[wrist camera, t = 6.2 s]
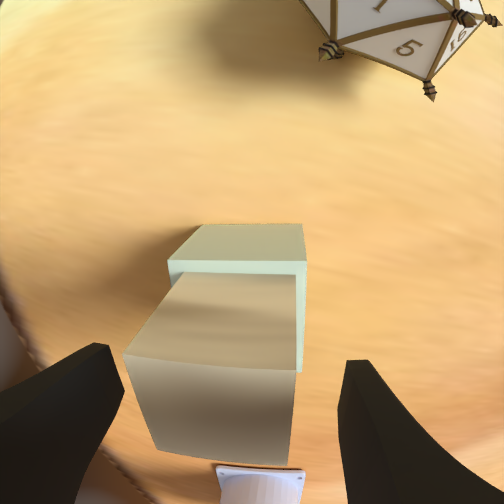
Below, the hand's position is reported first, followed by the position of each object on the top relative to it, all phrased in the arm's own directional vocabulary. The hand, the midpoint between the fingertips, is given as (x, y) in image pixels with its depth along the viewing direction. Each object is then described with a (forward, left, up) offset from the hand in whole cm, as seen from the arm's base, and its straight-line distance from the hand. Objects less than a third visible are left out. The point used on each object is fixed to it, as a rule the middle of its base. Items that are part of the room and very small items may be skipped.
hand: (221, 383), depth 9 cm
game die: (+13, -6, -9) cm, 17 cm away
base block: (0, 0, -8) cm, 8 cm away
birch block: (0, 0, -3) cm, 3 cm away
